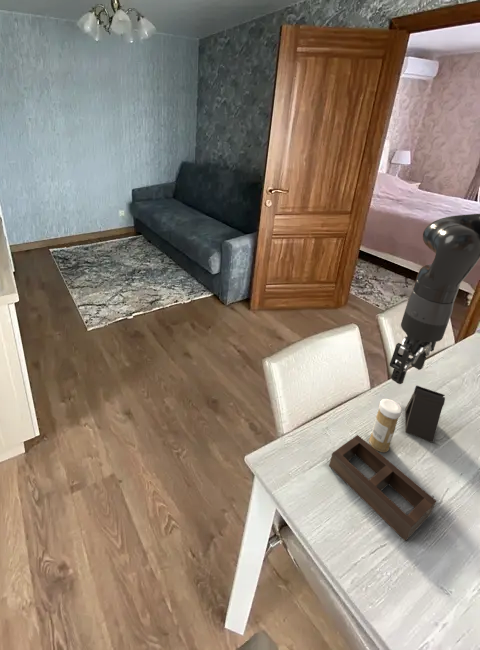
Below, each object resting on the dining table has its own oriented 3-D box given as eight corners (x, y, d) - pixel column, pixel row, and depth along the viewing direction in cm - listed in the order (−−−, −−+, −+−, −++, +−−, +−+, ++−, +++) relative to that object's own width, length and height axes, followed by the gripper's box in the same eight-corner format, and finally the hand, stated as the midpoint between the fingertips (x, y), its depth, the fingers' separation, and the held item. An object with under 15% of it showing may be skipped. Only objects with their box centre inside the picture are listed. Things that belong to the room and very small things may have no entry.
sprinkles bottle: (392, 452, 86) (406, 412, 81) (374, 453, 86) (387, 413, 81) (381, 436, 90) (394, 397, 85) (364, 437, 90) (376, 398, 85)
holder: (353, 447, 87) (357, 434, 85) (430, 514, 73) (436, 500, 71) (328, 465, 83) (332, 452, 81) (405, 541, 68) (411, 527, 67)
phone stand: (405, 409, 98) (416, 376, 94) (430, 418, 95) (443, 385, 91) (405, 432, 91) (417, 398, 87) (432, 443, 88) (446, 408, 84)
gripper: (430, 333, 65) (407, 398, 72) (463, 312, 72) (440, 372, 79) (390, 314, 71) (372, 375, 77) (424, 296, 78) (405, 353, 84)
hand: (406, 374), depth 78 cm, fingers open, 8 cm apart
